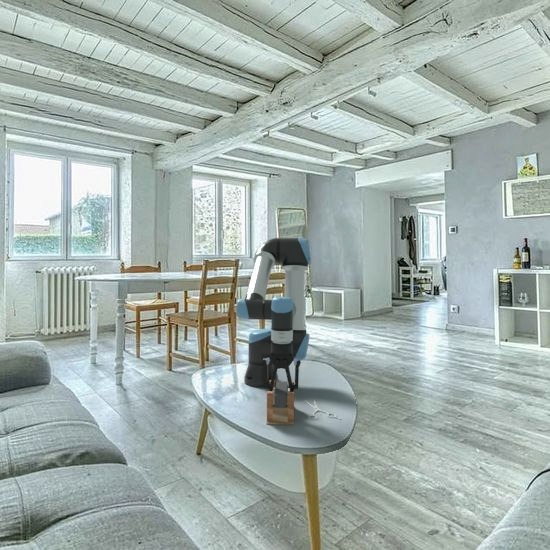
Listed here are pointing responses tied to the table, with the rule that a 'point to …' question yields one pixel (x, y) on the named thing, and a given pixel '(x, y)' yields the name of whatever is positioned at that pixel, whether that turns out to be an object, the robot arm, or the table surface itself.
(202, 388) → the table surface
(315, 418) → the white flat branched piece
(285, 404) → the bar
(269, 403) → the wooden ladder frame
